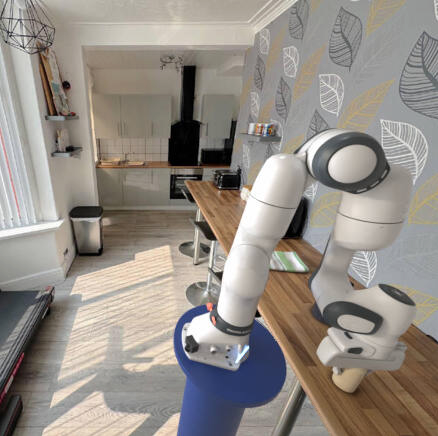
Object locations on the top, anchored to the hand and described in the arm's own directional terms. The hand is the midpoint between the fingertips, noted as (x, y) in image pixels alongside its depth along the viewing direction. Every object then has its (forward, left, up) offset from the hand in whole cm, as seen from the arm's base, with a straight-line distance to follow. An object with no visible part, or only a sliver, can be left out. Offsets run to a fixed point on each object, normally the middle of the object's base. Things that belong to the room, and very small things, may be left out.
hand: (348, 373), depth 67 cm
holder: (+12, +26, -4) cm, 29 cm away
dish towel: (+10, +63, -4) cm, 64 cm away
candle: (0, 0, -4) cm, 4 cm away
